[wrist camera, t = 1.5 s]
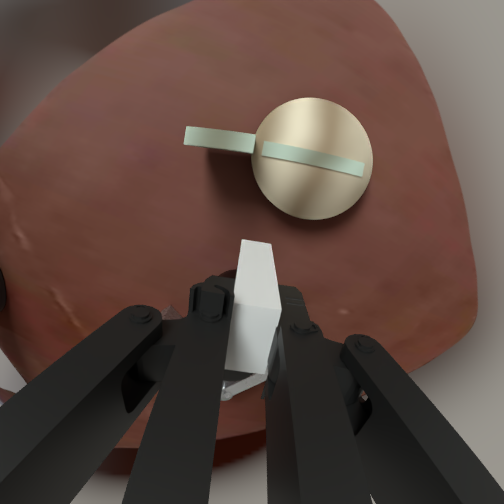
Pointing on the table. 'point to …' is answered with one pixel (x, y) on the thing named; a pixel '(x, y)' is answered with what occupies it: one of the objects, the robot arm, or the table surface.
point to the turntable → (302, 156)
